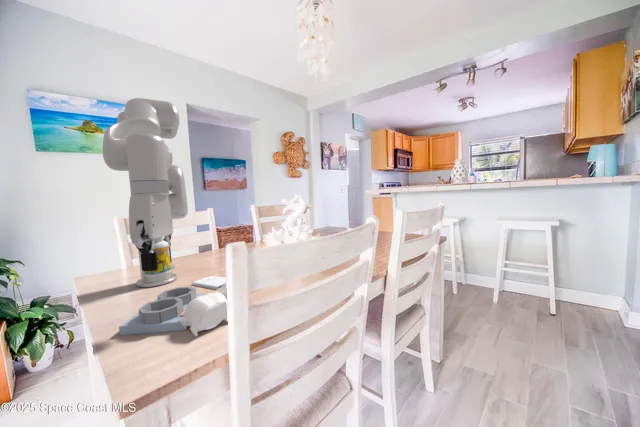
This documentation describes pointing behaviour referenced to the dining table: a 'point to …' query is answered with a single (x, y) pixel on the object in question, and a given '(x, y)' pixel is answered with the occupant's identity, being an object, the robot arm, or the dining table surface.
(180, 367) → the dining table surface
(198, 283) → the external hard drive
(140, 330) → the socket board
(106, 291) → the dining table surface
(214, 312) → the white figurine
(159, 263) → the supplement bottle
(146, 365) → the dining table surface
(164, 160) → the robot arm
